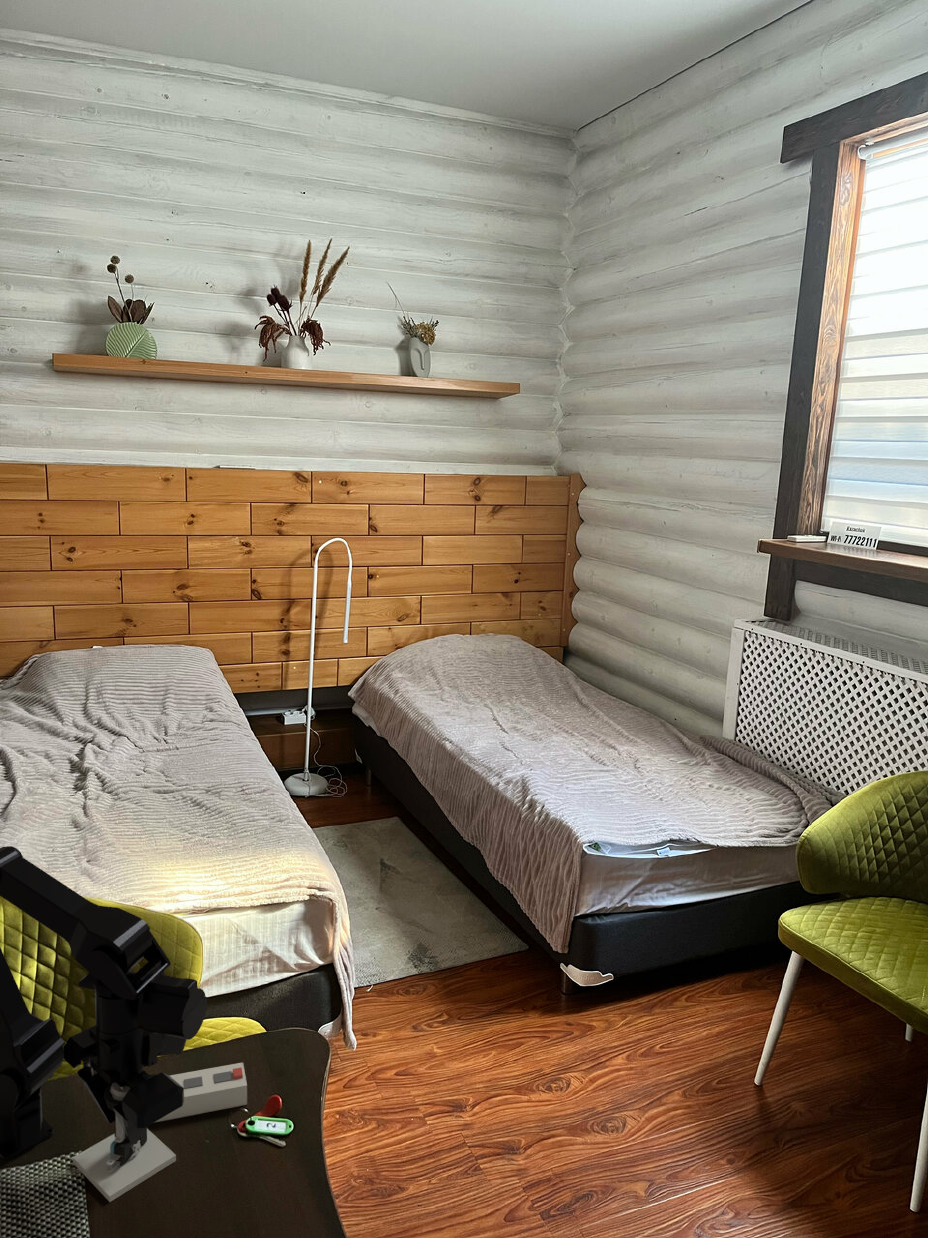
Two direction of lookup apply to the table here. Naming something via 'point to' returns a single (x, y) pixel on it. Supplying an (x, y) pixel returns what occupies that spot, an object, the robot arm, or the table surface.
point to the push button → (120, 1131)
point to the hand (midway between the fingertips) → (123, 1131)
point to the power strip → (211, 1090)
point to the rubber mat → (128, 1175)
